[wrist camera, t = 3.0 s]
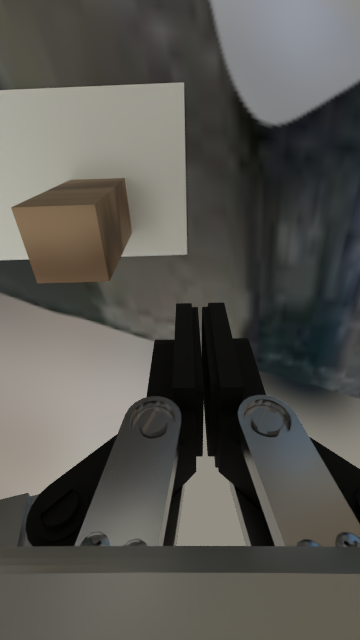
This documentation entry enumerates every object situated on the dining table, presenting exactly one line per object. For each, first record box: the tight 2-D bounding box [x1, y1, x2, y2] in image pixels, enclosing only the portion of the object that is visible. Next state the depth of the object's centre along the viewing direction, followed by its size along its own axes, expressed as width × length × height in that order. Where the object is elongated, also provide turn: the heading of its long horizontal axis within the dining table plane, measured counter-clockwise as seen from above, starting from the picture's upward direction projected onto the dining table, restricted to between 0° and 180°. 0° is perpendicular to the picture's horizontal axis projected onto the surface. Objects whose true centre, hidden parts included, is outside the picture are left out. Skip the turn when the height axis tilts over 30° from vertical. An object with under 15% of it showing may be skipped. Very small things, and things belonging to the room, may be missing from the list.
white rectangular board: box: [0, 82, 187, 260], centre depth 26 cm, size 14×24×1 cm, turn 92°
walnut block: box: [11, 178, 132, 283], centre depth 23 cm, size 5×5×11 cm
